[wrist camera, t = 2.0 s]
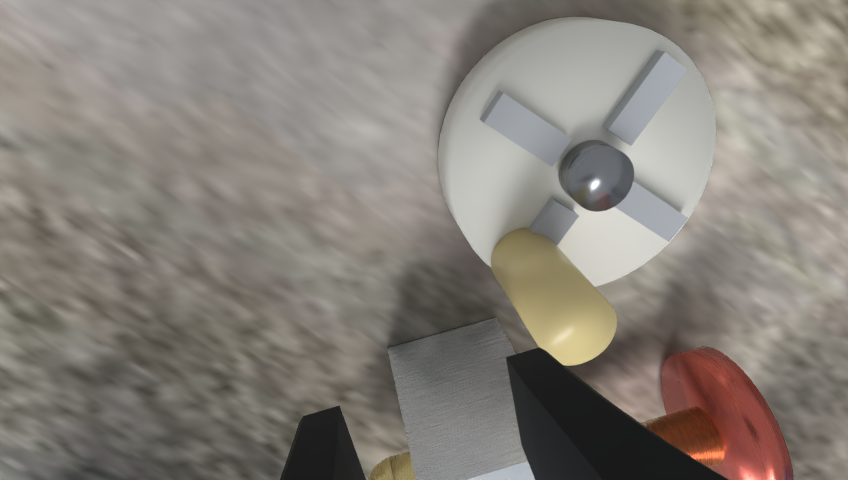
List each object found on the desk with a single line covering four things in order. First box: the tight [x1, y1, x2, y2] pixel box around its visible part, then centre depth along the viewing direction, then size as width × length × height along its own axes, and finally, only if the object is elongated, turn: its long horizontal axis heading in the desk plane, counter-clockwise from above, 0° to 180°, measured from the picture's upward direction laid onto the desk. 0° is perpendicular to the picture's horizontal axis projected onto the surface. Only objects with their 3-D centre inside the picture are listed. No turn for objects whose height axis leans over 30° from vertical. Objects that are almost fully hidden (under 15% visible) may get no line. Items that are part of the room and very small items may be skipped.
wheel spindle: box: [559, 140, 634, 212], centre depth 16 cm, size 2×2×1 cm
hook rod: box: [368, 346, 793, 480], centre depth 20 cm, size 13×6×6 cm, turn 102°
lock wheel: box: [438, 17, 716, 366], centre depth 16 cm, size 8×8×6 cm
